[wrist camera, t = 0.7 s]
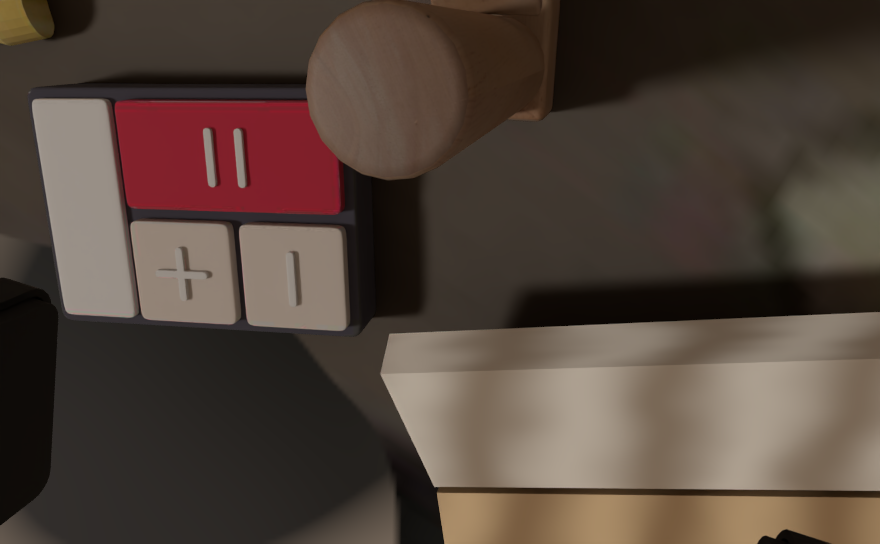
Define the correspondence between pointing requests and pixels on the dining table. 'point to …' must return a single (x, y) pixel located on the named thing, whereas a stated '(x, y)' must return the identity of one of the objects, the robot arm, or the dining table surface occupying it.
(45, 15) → the hammer
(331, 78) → the wooden block
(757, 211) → the dining table surface
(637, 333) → the ash plank
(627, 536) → the oak board
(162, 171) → the calculator
